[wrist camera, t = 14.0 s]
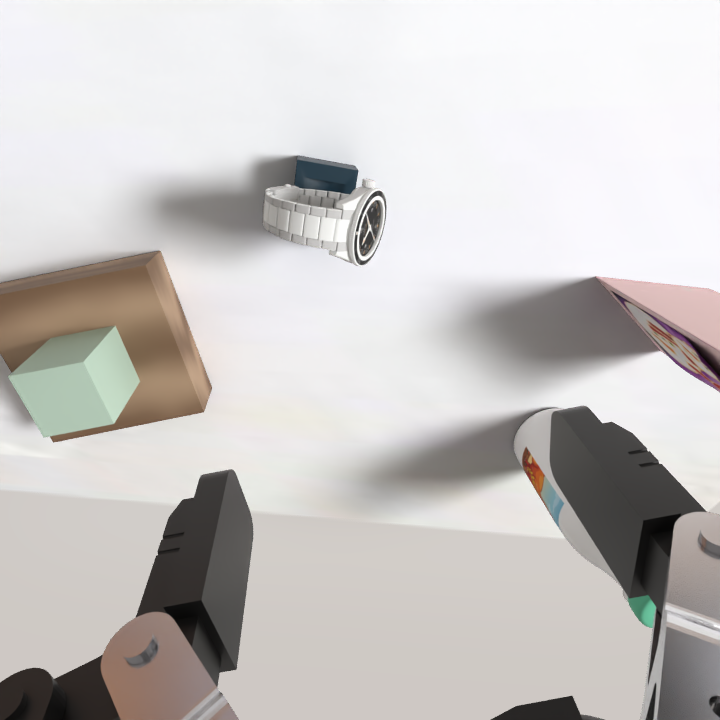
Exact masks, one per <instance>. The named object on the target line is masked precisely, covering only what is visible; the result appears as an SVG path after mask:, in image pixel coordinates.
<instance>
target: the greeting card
mask: <svg viewBox="0 0 720 720" xmlns="http://www.w3.org/2000/svg"><path fill="white" fill-rule="evenodd" d="M596 278H597V279H598V280H599V282H600V283H601V284H602V285H603V286H604V287H605V288H606V289H607V291H608V292H609V293H610V294H611V295H612V296H613V297H614V299H615V300H616V301H617V302H618V303H619V304H620V305H621V307H622V308H623V309H624V310H625V311H626V312H627V313H628V314H629V316H630V317H631V318H632V319H633V320H634V321H635V322H636V324H637V325H638V326H639V327H640V328H641V329H642V330H643V331H644V333H645V334H646V335H647V336H648V337H649V338H650V339H651V341H652V342H653V343H654V344H655V345H656V346H657V347H658V349H659V350H660V351H661V352H663V353H664V354H666V355H667V356H669V357H670V358H671V359H672V360H673V361H674V362H675V363H676V364H677V365H678V366H680V367H681V368H682V369H684V370H685V371H686V372H688V373H689V374H691V375H692V376H694V377H696V378H698V379H699V380H701V381H703V382H704V383H706V384H708V385H709V386H711V387H713V388H714V389H716V390H717V391H719V392H720V293H718V292H716V291H713V290H711V289H707V288H698V287H688V286H679V285H670V284H661V283H651V282H642V281H633V280H623V279H614V278H605V277H596Z"/></svg>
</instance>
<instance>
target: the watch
mask: <svg viewBox="0 0 720 720" xmlns="http://www.w3.org/2000/svg"><path fill="white" fill-rule="evenodd" d="M357 175H358V169H357V168H356V167H355V166H353V165H348V164H342V163H337V162H331V161H326V160H320V159H315V158H309V157H304V156H298V158H297V166H296V175H295V184H294V186H291V185H290V184H285V186H276V187H271V188H267V189H266V190H265V195H264V202H263V215H262V219H263V226H264V228H265V229H266V230H268V231H270V232H271V233H273V234H274V235H276V236H279V237H280V238H283V239H285V240H288V241H292V242H295V243H298V244H302V245H307V246H311V247H315V248H322V249H327V250H330V251H329V254H330V255H333V256H336V257H338V258H341V259H343V260H345V261H347V262H350V263H353V264H354V265H356V266H360V267H361V266H364V265H366V264H367V263H368V262H369V261H370V259H371V258H372V257H373V255H374V253H375V251H376V249H377V247H378V245H379V242H380V240H381V237H382V233H383V229H384V225H385V219H386V199H385V195H384V192H383V191H382V190H381V189H378V188H374V186H375V181H373V180H370V179H363V182H362V187H358V188H356V182H357ZM355 188H356V189H355ZM306 241H307V242H306ZM321 244H322V246H321Z"/></svg>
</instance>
